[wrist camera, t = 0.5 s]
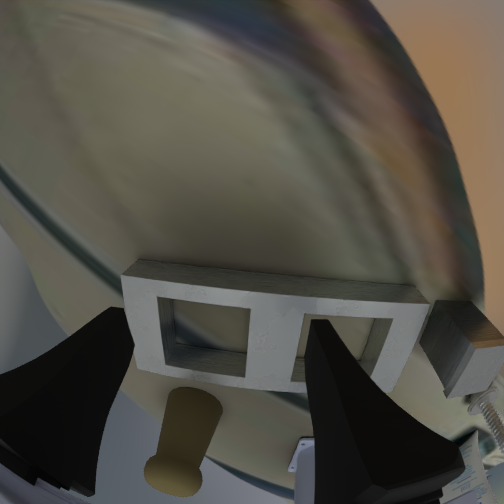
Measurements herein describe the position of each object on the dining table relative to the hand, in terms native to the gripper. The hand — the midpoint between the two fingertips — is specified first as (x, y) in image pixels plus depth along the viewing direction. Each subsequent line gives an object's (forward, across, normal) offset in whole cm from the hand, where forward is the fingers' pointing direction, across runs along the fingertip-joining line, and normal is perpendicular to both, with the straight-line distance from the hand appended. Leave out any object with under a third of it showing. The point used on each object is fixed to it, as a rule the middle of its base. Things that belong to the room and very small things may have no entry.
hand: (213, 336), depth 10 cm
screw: (+7, -30, +19) cm, 36 cm away
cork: (+9, +5, +19) cm, 22 cm away
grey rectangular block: (+9, -19, +8) cm, 22 cm away
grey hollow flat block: (+10, -3, +8) cm, 13 cm away
